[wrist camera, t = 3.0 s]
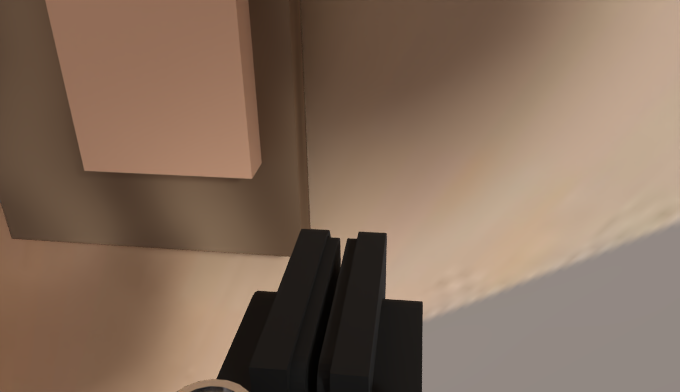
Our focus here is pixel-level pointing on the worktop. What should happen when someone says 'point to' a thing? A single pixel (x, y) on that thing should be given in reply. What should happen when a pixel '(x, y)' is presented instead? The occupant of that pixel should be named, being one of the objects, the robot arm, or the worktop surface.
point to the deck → (149, 189)
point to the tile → (160, 85)
